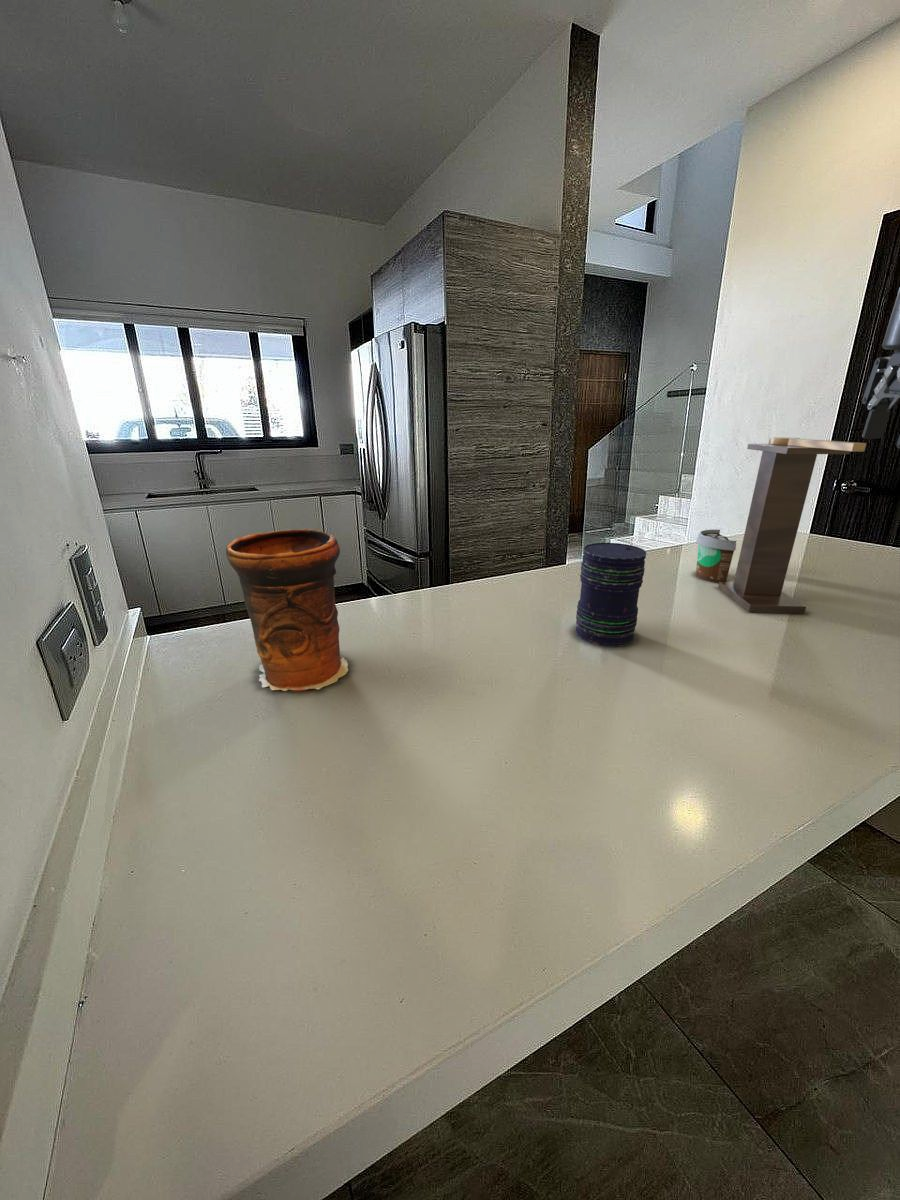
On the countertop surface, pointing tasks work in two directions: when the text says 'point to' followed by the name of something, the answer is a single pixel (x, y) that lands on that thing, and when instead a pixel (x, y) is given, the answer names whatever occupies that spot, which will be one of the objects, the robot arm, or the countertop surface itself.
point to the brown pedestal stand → (773, 528)
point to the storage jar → (609, 593)
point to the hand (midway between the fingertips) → (888, 443)
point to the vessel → (291, 605)
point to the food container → (714, 556)
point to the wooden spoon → (818, 444)
